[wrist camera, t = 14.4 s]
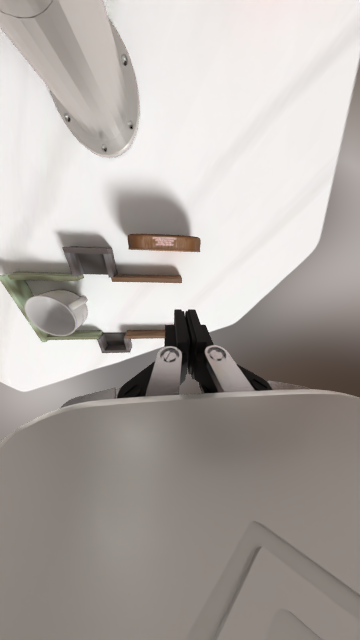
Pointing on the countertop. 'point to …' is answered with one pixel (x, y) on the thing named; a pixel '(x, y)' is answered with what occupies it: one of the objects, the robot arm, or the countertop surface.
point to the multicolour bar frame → (80, 263)
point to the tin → (163, 242)
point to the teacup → (57, 312)
